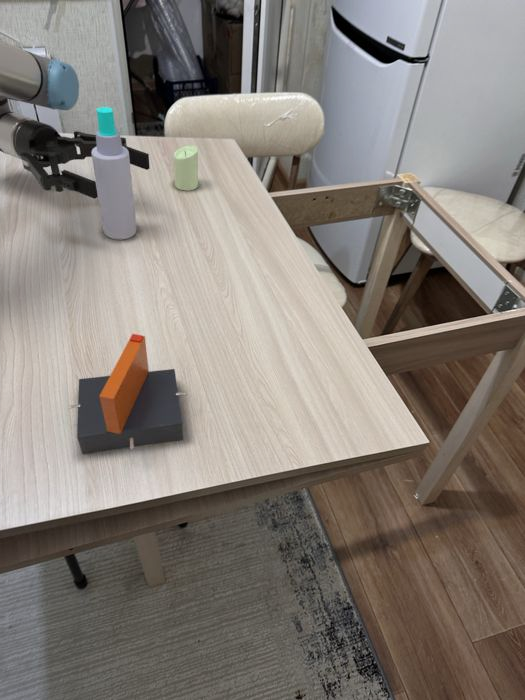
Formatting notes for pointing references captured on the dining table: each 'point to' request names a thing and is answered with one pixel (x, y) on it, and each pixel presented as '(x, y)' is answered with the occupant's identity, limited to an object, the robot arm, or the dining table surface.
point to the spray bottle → (113, 179)
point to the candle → (186, 168)
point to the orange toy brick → (124, 384)
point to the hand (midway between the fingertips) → (123, 175)
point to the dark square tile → (131, 414)
